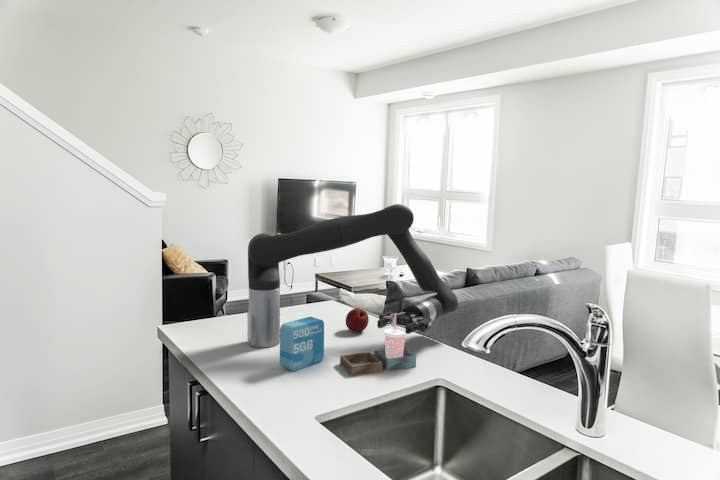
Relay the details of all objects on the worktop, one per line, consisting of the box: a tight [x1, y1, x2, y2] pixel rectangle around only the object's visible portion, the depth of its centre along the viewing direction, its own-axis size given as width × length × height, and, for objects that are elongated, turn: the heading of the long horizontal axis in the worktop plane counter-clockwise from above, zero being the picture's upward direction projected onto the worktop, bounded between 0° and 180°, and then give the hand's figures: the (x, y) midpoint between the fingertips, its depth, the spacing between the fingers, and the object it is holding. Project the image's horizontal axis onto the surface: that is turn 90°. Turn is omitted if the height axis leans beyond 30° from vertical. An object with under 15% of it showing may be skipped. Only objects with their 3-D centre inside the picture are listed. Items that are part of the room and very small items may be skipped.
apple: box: [345, 307, 369, 333], centre depth 162 cm, size 7×8×8 cm
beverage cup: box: [383, 312, 406, 359], centre depth 134 cm, size 6×6×14 cm
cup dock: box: [339, 347, 417, 377], centre depth 132 cm, size 19×9×3 cm, turn 112°
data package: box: [279, 316, 325, 372], centre depth 131 cm, size 12×4×12 cm, turn 138°
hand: (392, 327), depth 132 cm, fingers open, 8 cm apart
